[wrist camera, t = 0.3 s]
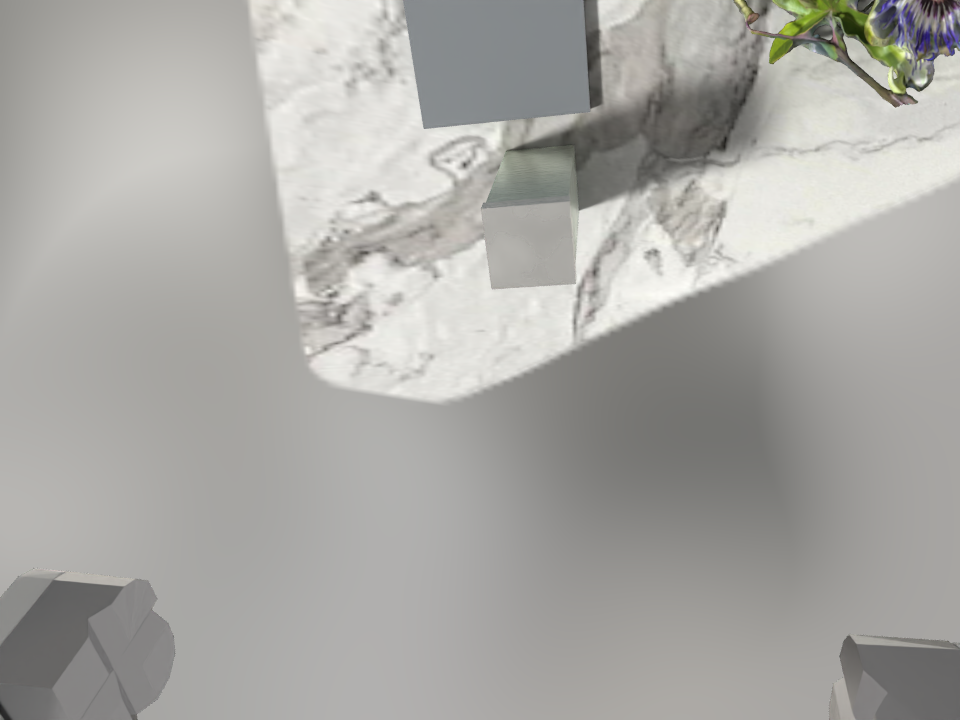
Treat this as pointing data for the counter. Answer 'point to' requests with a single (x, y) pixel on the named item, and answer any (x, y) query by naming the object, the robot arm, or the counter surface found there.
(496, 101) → the plate
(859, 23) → the passion flower
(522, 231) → the sage tea tin
